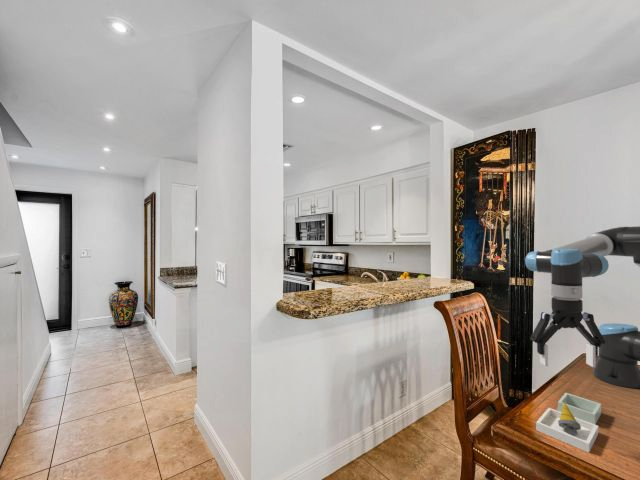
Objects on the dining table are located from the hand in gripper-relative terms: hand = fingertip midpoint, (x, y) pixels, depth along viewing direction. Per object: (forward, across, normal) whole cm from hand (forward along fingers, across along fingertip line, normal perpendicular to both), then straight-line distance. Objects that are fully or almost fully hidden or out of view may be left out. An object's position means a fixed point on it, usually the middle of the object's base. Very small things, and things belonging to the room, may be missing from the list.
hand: (567, 365), depth 94 cm
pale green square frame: (+21, +10, +10) cm, 25 cm away
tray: (+21, -1, -1) cm, 21 cm away
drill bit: (+20, -1, -1) cm, 20 cm away
